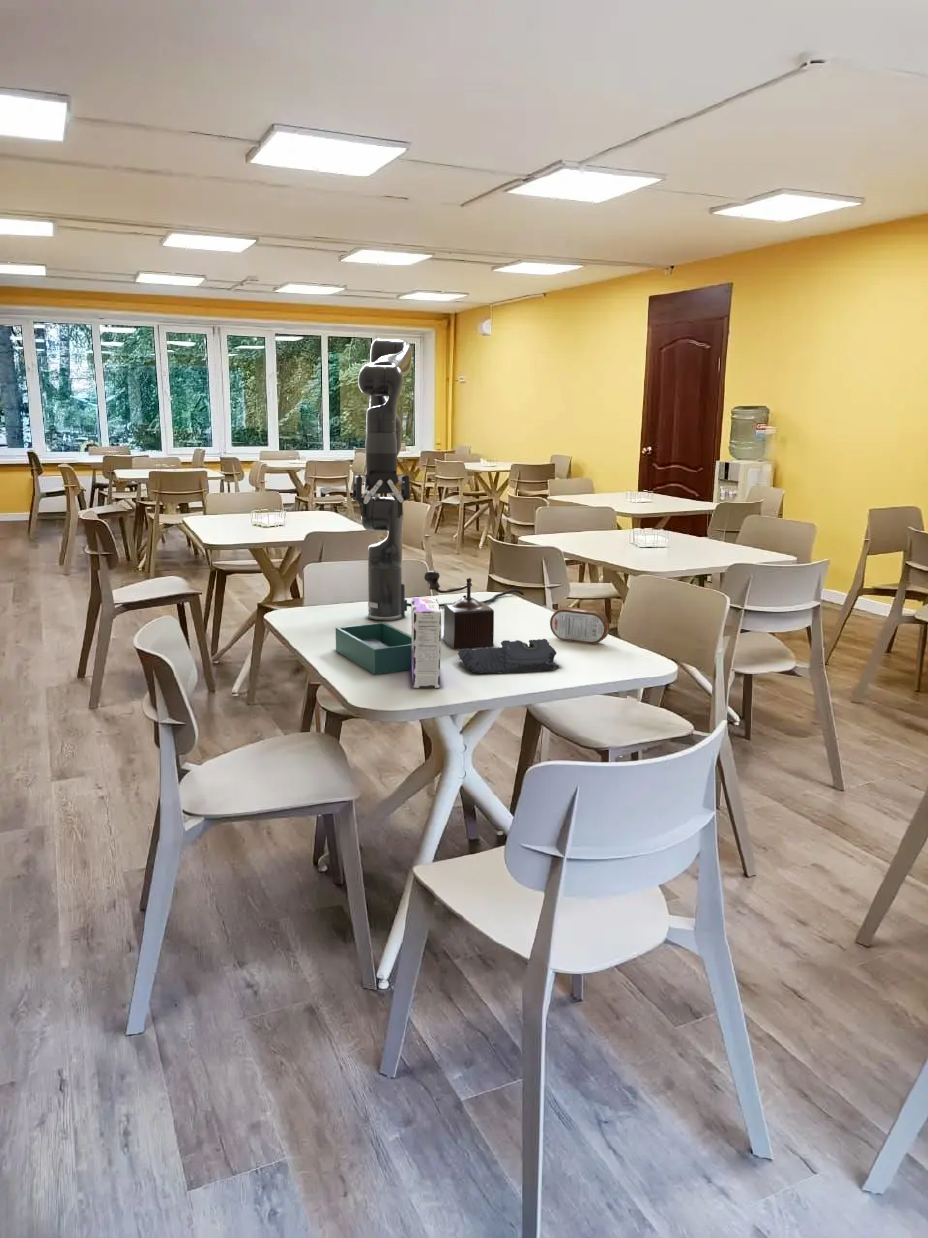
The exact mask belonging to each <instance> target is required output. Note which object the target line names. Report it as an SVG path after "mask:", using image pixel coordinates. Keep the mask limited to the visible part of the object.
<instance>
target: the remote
mask: <svg viewBox="0 0 928 1238" xmlns="http://www.w3.org/2000/svg"><path fill="white" fill-rule="evenodd" d="M362 641H364V642H366V643H368V644H369V645H371V646H373V647H375V648H385V647H389V646H387V645H385V644H384V643H382V642H380V641H378V640H376V639H374V638H373V639H364V640H362Z"/></svg>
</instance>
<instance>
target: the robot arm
mask: <svg viewBox="0 0 928 1238" xmlns="http://www.w3.org/2000/svg"><path fill="white" fill-rule="evenodd" d="M369 353H370V354H369V355H370V356H369V357H370V358H369V363H366V364H365V365H363V366H362V367H361V369H360V371H359V372H358V377H357V385H358V388H359V391H361V393H363V394H364V395H365V396H369V408H367V409H366V415H365V416H366V433H365V434H366V435H365V447H364V450H365V476H360V475H354V476H353V478H352V479H353V480H352V481H353V483H352V501H354V502H358V503H359V504H360V505H359V506H360V507H359V508H360V510H359V511H360V516H361V524H362V527H363V529H365V530H366V531H371V532H387V536H386V538H384V539H383V540H380V541H378V542H374V543H371V544H370V545H369V546H368V548H367V572H368V573H367V579H368V580H367V591H368V592H367V594H368V595H367V596H368V598H367V607H368V609H367V611H368V613H367V618H368V619H370V620H374V621H383V622H384V621H385V622H386V621H387V622H388V621H397V620H401V619H403V618H405V617H406V612H408V607H411V602H410V603H409V602H408V599H406V595H405V592H406V591H405V589H406V588H405V587H406V586H405V583H403V575H402V574H403V573H402V571H403V564H402V563H403V561H402V560H403V559H402V558H403V556H402V555H403V553H402V552H403V527H404V505H403V503H404V502H405V501H408V500H410V499H411V490H410V476H409V475H405V474H401V475H398V474H397V473H398V456H399V454H400V452H401V449H402V434H403V424H402V420H401V418H400V416H399V414H398V413H397V412H398V411H397V408H398V403H399V399H400V395H401V392H402V389H403V385H404V376H406V375H408V374H410V371H411V369H412V364H413V349H412V346H411V344H410V343H409V342H408V341H406V340H402V339H388V338H387V339H386V338H375V339H373V341H372V343H371V347H370V352H369ZM397 483H398V484H400V491H399V489H398V488H397V487H396V485H397ZM362 489H363V493H362ZM381 494H387V495H388V494H389V495H390V496H379V495H381ZM512 593H518V594H520V595H521V596H524V595H525V593H524V592H523V591H522V590H520V589H510V590H507V591H503V592H501V593H497V594H495V595H494V596H493V597H492V598H489V599H486V600H482V601H480V602H483V603H485V604H488V603H491V602H494V601H495V600H496V599H497V598H500V597H503V596H506V595H509V594H512ZM438 604H439V608H444V603H438Z"/></svg>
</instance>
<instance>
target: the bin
mask: <svg viewBox="0 0 928 1238" xmlns="http://www.w3.org/2000/svg"><path fill="white" fill-rule="evenodd" d="M373 638H374V639H376V640H378V641H380V642H382V643H384V644H385V645H387V646H389V647H385V648H375V647H373V646H371V645H369V644H368V643H366V642H364V641H362V640H364V639H373ZM335 651H336V652H338V653H339V654H341V655H342V656H344V657H346V658H347V659H349V660H351V661H352V662H354V663H355V664H357V665H358V666H360V667H362V668H364V669H365V670H367V671H369V672H370V673H372V674H373V675H381V674H382V675H383V674H389V673H397V672H402V671H403V672H404V671H409V670H410V671H411V668H412V634H408V633H407V632H405V631H402V630H400V629H398V628H396V627H394V626H392V625H390V624H389V623H386V622H384V621H383V622H374V623H365V624H356V625H349V626H337V627H335Z"/></svg>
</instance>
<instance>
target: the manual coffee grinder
mask: <svg viewBox="0 0 928 1238" xmlns="http://www.w3.org/2000/svg"><path fill="white" fill-rule="evenodd" d="M440 578H441V577H440V573H439V571H437V570H436V569H430V570H427V571H426V572H425V573H424V577H423V579H424V580H425V581H426V582H427V584H428V585H429V586H428V589H429V590H431V591H432V590H433V591H434V592H435V593H437V594H449V593H454V592H458V591H459V592H460V591H463V590H465V589H466V594H465V595H463V596H462V598H461V599H459V600H457V601H454V602H445V603H443V604H444V607H443V636H442V638H443V640H444V642H445V643H446V645H448V647H450V648H451V649H453V650H460V649H479V648H489V647H493V648H494V645H495V644H494V641H495V640H494V637H495V635H494V633H495V630H494V629H495V611H494V609H493V608H492V607H490V606H489V605H487V603H483V602H481V601H479V600H477V599H476V598H474V597H472V596H471V590H472V589H471V587H472V586H473V584H472V578H471V577H467V578H466V583H465V584H464V585H462V586H457V587H452V588H447V589H446V588H445V589H440V587H441V585H440V584H439V579H440Z"/></svg>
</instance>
